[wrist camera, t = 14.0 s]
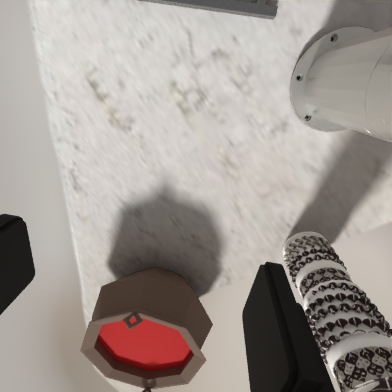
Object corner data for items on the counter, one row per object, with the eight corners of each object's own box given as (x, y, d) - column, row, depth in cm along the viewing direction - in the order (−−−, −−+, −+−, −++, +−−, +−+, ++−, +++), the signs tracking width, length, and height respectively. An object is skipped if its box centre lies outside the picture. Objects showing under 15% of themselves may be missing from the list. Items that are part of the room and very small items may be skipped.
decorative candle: (302, 220, 42) (403, 381, 19) (341, 244, 43) (477, 417, 21) (269, 254, 46) (323, 421, 23) (306, 274, 47) (391, 449, 25)
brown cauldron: (211, 329, 57) (210, 416, 42) (114, 323, 58) (81, 404, 44) (214, 250, 46) (215, 329, 32) (97, 245, 48) (45, 317, 33)
